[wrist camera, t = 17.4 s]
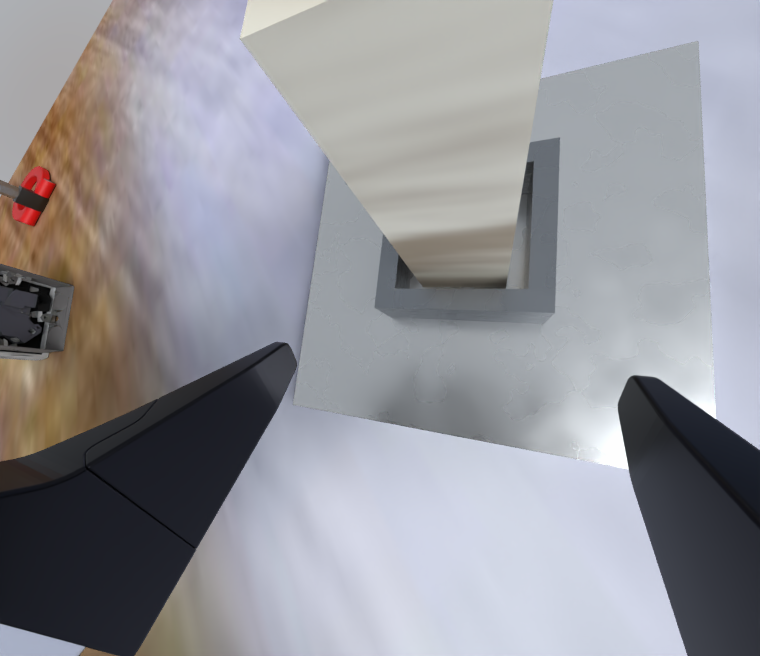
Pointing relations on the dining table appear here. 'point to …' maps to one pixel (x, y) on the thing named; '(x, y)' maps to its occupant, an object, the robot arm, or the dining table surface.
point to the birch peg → (417, 115)
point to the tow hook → (29, 195)
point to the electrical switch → (32, 314)
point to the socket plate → (537, 281)
